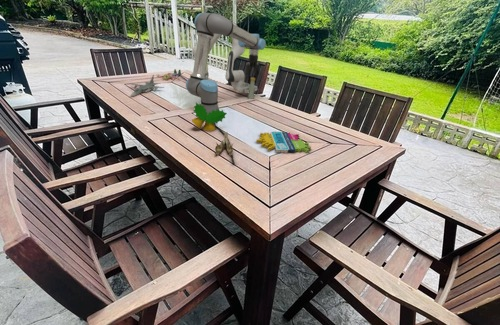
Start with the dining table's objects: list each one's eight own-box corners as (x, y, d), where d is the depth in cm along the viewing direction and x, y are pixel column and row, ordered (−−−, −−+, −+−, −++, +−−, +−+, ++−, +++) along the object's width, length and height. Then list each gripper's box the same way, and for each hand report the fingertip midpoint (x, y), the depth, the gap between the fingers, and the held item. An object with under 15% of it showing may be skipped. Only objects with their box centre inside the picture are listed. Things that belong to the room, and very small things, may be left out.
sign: (313, 150, 142) (258, 149, 139) (312, 153, 143) (258, 152, 140) (301, 132, 164) (254, 130, 161) (301, 134, 165) (254, 133, 162)
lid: (251, 79, 228) (252, 77, 227) (256, 80, 225) (256, 78, 224) (247, 80, 225) (247, 77, 224) (251, 81, 221) (252, 79, 220)
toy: (189, 70, 290) (176, 74, 264) (189, 77, 293) (177, 81, 267) (166, 67, 295) (151, 71, 269) (167, 74, 298) (152, 78, 272)
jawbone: (234, 135, 144) (233, 125, 135) (233, 160, 138) (232, 151, 129) (217, 135, 144) (216, 125, 135) (216, 160, 138) (214, 150, 129)
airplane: (124, 86, 238) (122, 75, 233) (160, 84, 251) (158, 74, 246) (129, 99, 209) (126, 86, 204) (168, 96, 223) (167, 84, 217)
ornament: (218, 133, 171) (224, 110, 169) (221, 134, 163) (227, 111, 161) (186, 125, 162) (192, 101, 160) (189, 126, 155) (195, 101, 153)
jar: (254, 98, 233) (255, 79, 224) (251, 99, 229) (252, 79, 221) (250, 97, 235) (251, 78, 227) (247, 98, 232) (248, 78, 224)
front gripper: (247, 55, 207) (245, 85, 218) (265, 55, 217) (262, 83, 228) (241, 54, 212) (240, 83, 223) (259, 53, 222) (257, 81, 234)
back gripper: (233, 84, 231) (242, 88, 221) (252, 83, 242) (261, 86, 232) (233, 91, 234) (241, 95, 224) (252, 89, 245) (260, 93, 235)
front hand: (251, 83), depth 226 cm, fingers closed on lid, 5 cm apart
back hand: (251, 91), depth 228 cm, fingers closed on jar, 5 cm apart
